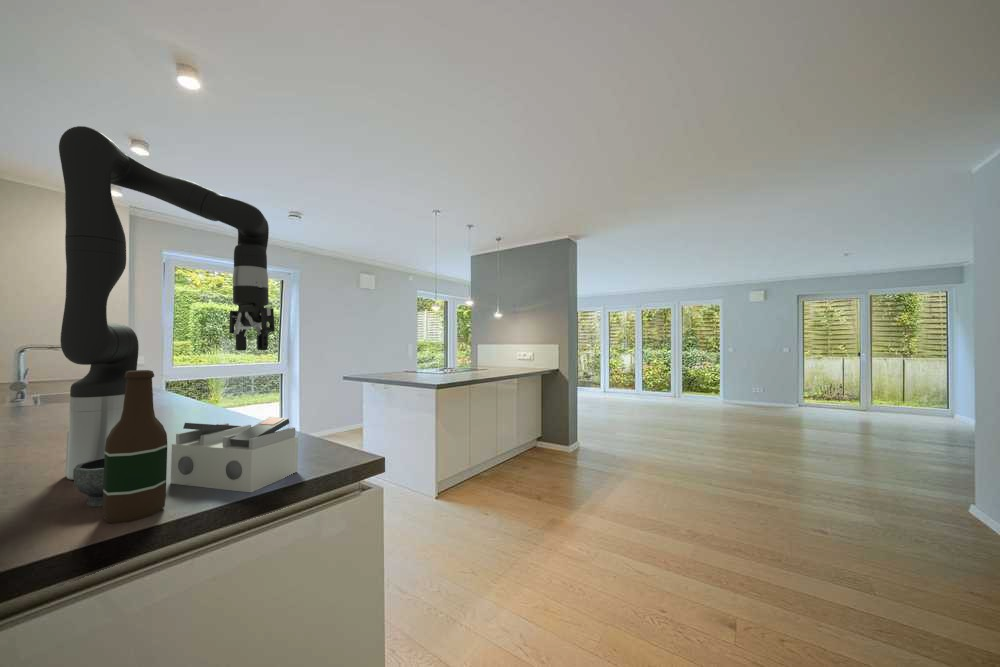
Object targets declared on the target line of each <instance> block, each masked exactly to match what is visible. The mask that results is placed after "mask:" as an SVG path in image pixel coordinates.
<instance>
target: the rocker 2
mask: <svg viewBox="0 0 1000 667" xmlns="http://www.w3.org/2000/svg"><path fill="white" fill-rule="evenodd" d="M289 424H290V419H289V418H288V417H273V416H272V417H271V416H269V417H268V418H265V419H264V420H262V421H260V422H258V423H257V424H255V425H253V426H251V428H249V429H247V430H245V431H244V432H242V433H240V434H238V435H236V436H234V437H233V438H231V439H230V442H231V445H244V446H249V439H252V438H255V437H259V436H263V435H266V434H270V433H274V432H277V431H280V430H281V429H282V428H284V427H286V426H287V425H289Z"/></svg>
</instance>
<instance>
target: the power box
mask: <svg viewBox="0 0 1000 667" xmlns="http://www.w3.org/2000/svg"><path fill="white" fill-rule="evenodd" d="M219 425H230V424H229V423H228V422H227V423H219ZM240 426H241V427H236V428H232V429H227V430H223V431H212V430H195V429H191V430H188V431H183V432H179V433H175V434H176V435H175V442H174V443H172V444H171V455H170V456H171V458H170V459H171V460H170V462H171V463H170V484H172V485H179V486H181V485H182V486H189V487H190V486H191V487H198V488H207V489H208V488H209V489H216V490H225V491H226V490H227V491H235V492H243V493H252V492H255V491H257V490H260V489H262V488H264V487H267V486H269V485H271V484H274V483H276V482H279V481H281V480H283V479H286V478H287V476H288V477H290V476H292V475H294V474H293V473H295V472H297V473H298V471H299V470H298V468H299V466H298V465H299V464H298V463H299V436H298V435H296V427H288V428H285V429H282V430H281V429H280V430H277V431H276V432H274V433H270V434H266V435H263V436H259V437H255V438H252V439H249V446H244V445H231V442H230V439H231V438H233V437H234V436H236V435H238V434H240V433H242V432H244V431H245V430H247V429H249V428H251V427H252V424H246V425H240ZM291 474H292V475H291ZM295 474H296V473H295ZM289 475H290V476H289ZM285 477H286V478H285Z"/></svg>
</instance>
